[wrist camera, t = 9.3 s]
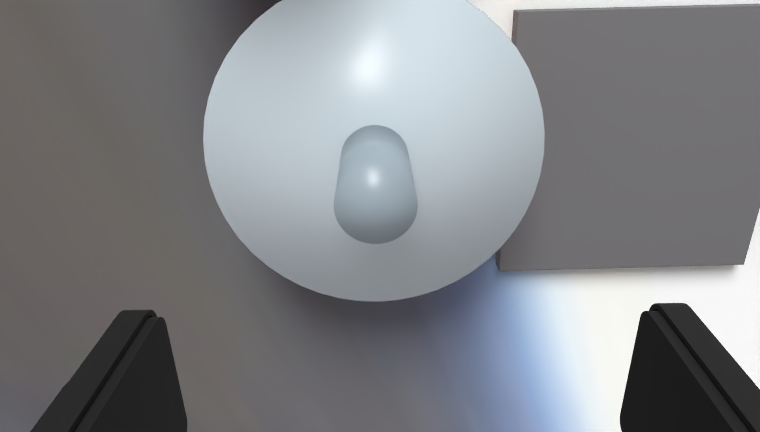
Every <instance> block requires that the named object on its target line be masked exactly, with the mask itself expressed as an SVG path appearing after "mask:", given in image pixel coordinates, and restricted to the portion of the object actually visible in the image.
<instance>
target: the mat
mask: <svg viewBox="0 0 760 432" xmlns="http://www.w3.org/2000/svg"><path fill="white" fill-rule="evenodd" d="M512 43H513V44H514V45H515V46H516V48H517V49H518V51H519V53H520V54H521V56H522V58H523V59H524V61H525V63H526V65H527V66H528V68H529V70H530V73H531V75H532V78H533V80H534V83H535V85H536V88H537V91H538V95H539V99H540V103H541V107H542V112H543V121H544V131H545V137H544V156H543V162H542V168H541V174H540V177H539V181H538V184H537V187H536V190H535V193H534V196H533V198H532V200H531V202H530V205H529V207H528V209H527V211H526V213H525V215H524V216H523V218H522V220H521V221H520V223H519V224H518V226H517V228H516V229H515V231H514V232H513V233H512V234H511V236H510V237H509V238H508V239H507V241H506V242H505V243H504V244H503V246H502V247H501V248H500V249H498V250H497V255H496V264H497V266H498V269H499V271H523V270H560V269H597V268H634V267H671V266H708V265H744V262H745V258H746V255H747V251H748V248H749V244H750V240H751V237H752V233H753V230H754V226H755V222H756V219H757V215H758V212H759V208H760V4H734V5H694V6H654V7H614V8H574V9H535V10H514V16H513V30H512Z"/></svg>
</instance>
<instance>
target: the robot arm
mask: <svg viewBox="0 0 760 432" xmlns="http://www.w3.org/2000/svg"><path fill="white" fill-rule="evenodd" d="M620 426H621V430H622V432H760V389H759V388H758V387H757V386H756V385H755V383H754V382H753V381H752V380H751V379H750V378H749V376H748V375H747V374H746V373H745V372H744V370H743V369H742V368H741V367H740V366H739V365H738V363H737V362H736V361H735V360H734V359H733V357H732V356H731V355H730V354H729V353H728V351H727V350H726V349H725V348H724V347H723V346H722V344H721V343H720V342H719V341H718V340H717V338H716V337H715V336H714V335H713V334H712V333H711V331H710V330H709V329H708V328H707V327H706V325H705V324H704V323H703V322H702V321H701V319H700V318H699V317H698V316H697V315H696V314H695V312H694V311H693V310H692V309H691V308H690V307H689V306H688V305H687V304H684V303H655V304H653V305H652V306H651V307H650V310H649V311H644V312H643V313H642V314H641V317H640V321H639V326H638V331H637V335H636V340H635V345H634V350H633V355H632V360H631V365H630V369H629V374H628V379H627V384H626V389H625V394H624V399H623V403H622V408H621V413H620ZM31 432H187V417H186V413H185V408H184V403H183V399H182V394H181V390H180V385H179V381H178V376H177V372H176V367H175V363H174V358H173V353H172V349H171V344H170V340H169V335H168V331H167V326H166V322H165V320H164V318H162V317H157V316H156V313H155V312H154V311H153V310H124V311H121V312H120V313H119V314H118V315H117V317H116V318H115V319H114V321H113V322H112V323H111V325H110V326H109V327H108V329H107V330H106V332H105V333H104V334H103V336H102V337H101V338H100V340H99V341H98V342H97V344H96V345H95V347H94V348H93V349H92V351H91V352H90V353H89V355H88V356H87V357H86V359H85V360H84V362H83V363H82V364H81V366H80V367H79V368H78V370H77V371H76V373H75V374H74V375H73V377H72V378H71V379H70V381H69V382H68V383H67V384H66V385H65V386H64V387H63V388H62V390H61V391H60V392H59V394H58V395H57V396H56V398H55V399H54V400H53V402H52V403H51V404H50V406H49V407H48V409H47V410H46V411H45V413H44V414H43V415H42V417H41V418H40V419H39V421H38V422H37V424H36V425H35V426H34V428H33V429H32V430H31Z"/></svg>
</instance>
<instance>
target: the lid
mask: <svg viewBox="0 0 760 432" xmlns="http://www.w3.org/2000/svg"><path fill="white" fill-rule="evenodd" d="M544 137H545V131H544V121H543V112H542V107H541V103H540V99H539V95H538V91H537V88H536V85H535V83H534V80H533V78H532V75H531V73H530V70H529V68H528V66H527V65H526V63H525V61H524V59H523V58H522V56H521V54H520V53H519V51H518V49H517V48H516V46H515V45H514V44H513V43H512V41H511V40H510V39H509V38H508V36H507V35H506V34H505V32H504V31H503V30H502V29H501V28H500V27H499V26H498V25H497V24H496V23H495V22H494V21H493V20H491V19H490V18H489V17H488V16H487V15H486V14H485V13H484V12H482V11H481V10H480V9H478V8H477V7H475V6H474V5H472V4H471V3H470V2H468V1H467V0H282V1H280V2H278V3H277V4H275V5H274V6H272V7H271V8H270V9H269V10H267V11H266V12H265V13H264V14H262V15H261V16H260V17H259V18H257V19H256V20H255V21H254V22H253V23H252V24H251V25H250V26H249V27H248V29H247V30H246V31H245V32H244V33H243V34H242V35H241V36H240V37H239V38H238V40H237V41H236V43H235V44H234V46H233V47H232V48H231V50H230V51H229V53H228V54H227V55H226V57H225V59H224V61H223V63H222V65H221V67H220V69H219V71H218V73H217V75H216V77H215V80H214V83H213V86H212V89H211V92H210V95H209V97H208V103H207V108H206V113H205V118H204V135H203V144H204V156H205V164H206V169H207V173H208V177H209V182H210V185H211V188H212V190H213V193H214V196H215V198H216V201H217V203H218V205H219V207H220V209H221V211H222V213H223V215H224V217H225V219H226V220H227V222H228V223H229V225H230V226H231V228H232V229H233V231H234V232H235V233H236V235H237V236H238V238H239V239H240V240H241V241H242V242H243V243H244V244H245V245H246V246H247V248H248V249H249V250H250V251H251V252H252V253H253V254H254V255H255V256H257V257H258V258H259V259H260V260H261V261H262V262H264V263H265V264H266V265H267V266H268V267H270V268H271V269H273V270H274V271H276V272H277V273H279V274H280V275H282V276H283V277H285V278H287V279H289V280H291V281H293V282H294V283H296V284H298V285H300V286H302V287H305V288H308V289H310V290H313V291H316V292H318V293H321V294H325V295H329V296H333V297H337V298H341V299H349V300H356V301H378V302H379V301H391V300H400V299H405V298H411V297H416V296H420V295H423V294H426V293H429V292H432V291H435V290H438V289H440V288H443V287H445V286H447V285H449V284H452V283H454V282H456V281H457V280H459V279H461V278H462V277H464V276H466V275H468V274H469V273H471V272H472V271H474V270H475V269H476V268H478V267H479V266H480V265H482V264H483V263H484V262H486V261H487V260H488V259H489V258H490V257H491V256H492V255H493V254H494V253H495V252H496V251H497V250H498V249H500V248H501V247H502V246H503V244H504V243H505V242H506V241H507V239H508V238H509V237H510V236H511V234H512V233H513V232H514V231H515V229H516V228H517V226H518V224H519V223H520V221H521V220H522V218H523V216H524V215H525V213H526V211H527V209H528V207H529V205H530V202H531V200H532V198H533V196H534V193H535V190H536V187H537V184H538V181H539V177H540V174H541V168H542V162H543V156H544Z"/></svg>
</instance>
